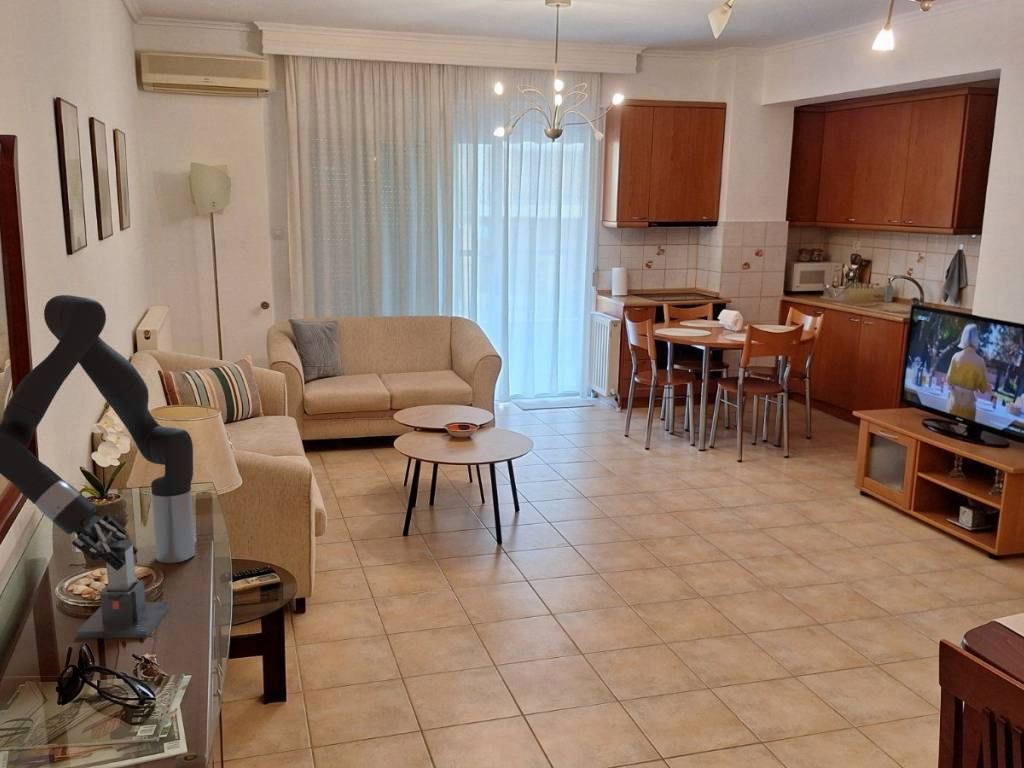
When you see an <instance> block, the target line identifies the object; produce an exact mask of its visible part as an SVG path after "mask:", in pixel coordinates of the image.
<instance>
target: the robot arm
mask: <svg viewBox="0 0 1024 768" xmlns="http://www.w3.org/2000/svg"><path fill="white" fill-rule="evenodd" d="M106 315H107V314H106V310H105V308H104V306H103V305H102V304H101V303H100V301H97V300H95V299H92V298H88V297H84V296H83V297H82V296H76V295H72V294H70V295H69V294H61V295H55V296H54V297H52V298H50V299H49V300H48V301H47V302H46V304H45V306H44V310H43V317H44V322H45V325H46V327H47V328H48V330H49V332H51V334H52V335H53V336H54V337H55V338H56V339H57V340H58V343H57V345H55V347H54V349H52V351H51V352H50V353H49V354H48V356H46V357H45V358H44V359H42V361H41V362H39V364H38V365H37V366H35V367H34V368H33V369H31V370H30V371H29V372H28V373H27V374H26V375H25V376H24V378H22V380H21V381H20V383H19V384H18V385H17V387H16V389H15V390H14V392H13V394H12V396H10V399H9V401H8V403H7V405H6V406H5V408H4V411H3V414H2V415H3V416H2V420H1V422H0V475H1V476H3V477H4V478H5V479H6V480H7V481H9V482H10V483H12V484H13V485H14V486H15V488H16V489H17V490H18V491H19V492H20V493H21V494H22V495H23V496H24V497H25V498H27V499H28V500H29V501H30V502H31V503H32V504H34V505H35V506H36V508H37V509H38V510H39V511H40V512H41V513H42V514H43V515H44V516H46V518H48V519H49V520H50V521H51V522H53V523H54V524H55V525H56V526H57V527H58V528H59V529H60V530H62V531H63V532H64V533H65V534H66V535H73V534H74V533H75V534H76V538H74V539H73V541H71V544H72V545H73V546H74V547H75V548H77V550H79V551H81V552H82V553H83V554H84V555H85V556H87V557H88V558H89V559H91V560H92V561H94V562H96V561H97V560H101V561H102V560H103V561H105V562H107V563H108V564H109V565H111V566H112V567H113V568H114V569H115V570H119V569H120V568H121V567H122V566H123V565H124V564H125V562H124V561H123V560H122V559H121V558H120V557H119V556H117V555H116V554H115V553H114V552H113V551H111V550H110V549H109V547H108V544H110V543H111V542H112V541H116V540H127V539H126V538H127V537H126V534H127V533H128V532H127V530H126V529H125V528H124V527H123V526H122V525H121V524H120V523H119V522H118V521H117V520H116V519H114V518H113V516H111V515H110V514H109V513H106V512H105V514H104V515H103V516H102V517H100V516H98V515H96V514H95V512H96V511H97V506H96V505H95V504H94V503H92V502H91V501H90V500H89V499H88V498H86V496H85V495H83V494H82V493H81V492H79V490H78V489H77V488H75V487H74V486H73V485H71V484H70V483H68V481H65V480H64V479H63V478H62V477H60V476H59V475H58V474H57V473H56V472H54V470H53V469H51V468H50V467H49V466H48V465H46V464H45V463H43V462H41V461H40V460H39V459H38V458H37V457H36V456H35V455H34V454H33V453H32V451H30V450H29V449H28V448H29V446H30V444H31V441H32V439H33V437H34V434H35V431H36V429H37V427H38V426H39V424H40V423H41V422H42V420H43V418H44V417H45V414H46V413H47V411H48V409H49V408H50V405H51V403H52V402H53V400H54V398H55V397H56V394H57V393H58V391H59V390H60V388H61V387H62V385H63V384H64V382H65V381H66V379H68V377H69V376H70V374H71V372H72V371H73V370H74V368H75V367H76V366H77V365H78V364H79V365H80V366H81V368H82V370H83V371H84V372H85V373H86V375H87V376H88V377H89V379H90V380H91V381H92V383H93V384H94V386H96V389H97V390H98V391H99V393H100V394H101V396H102V397H103V399H105V401H106V402H107V403H108V405H109V406H110V407H111V409H112V410H113V411H114V413H115V414H116V415H117V417H118V418H119V420H120V421H121V422H122V424H123V425H124V427H125V428H126V430H127V431H128V433H129V434H130V436H131V438H132V440H133V441H134V443H135V446H136V447H137V449H138V451H139V452H140V454H141V455H142V456H143V458H144V459H145V460H147V461H148V462H149V463H152V464H154V465H155V464H156V465H164V475H163V476H160V477H157V478H155V479H153V480H152V481H151V483H150V484H151V485H150V489H151V502H152V519H153V528H154V531H153V532H154V545H155V546H154V547H155V558H156V561H157V562H159V563H163V564H176V563H181V562H185V560H186V561H188V559H189V558H191V557H192V556H194V554H195V555H196V547H195V530H194V516H193V515H194V514H193V500H192V499H193V498H192V481H193V477H194V446H193V440H192V439H193V438H192V436H191V435H190V433H189V432H188V431H187V430H186V429H182V428H176V427H168V426H162V425H161V424H159V423H158V422H157V420H155V418H154V417H153V416H152V414H151V412H150V411H149V397H150V396H149V389H148V386H147V384H146V382H145V381H144V379H143V377H142V376H141V374H140V373H139V372H138V370H137V369H136V367H135V366H134V365H133V364H132V363H131V362H130V361H128V359H126V358H125V357H124V356H123V355H122V354H121V353H119V352H118V351H116V349H114V348H113V347H112V346H110V345H109V344H108V343H106V342H105V341H104V340H103V339H102V338H101V337H100V335H101V333H102V331H103V330H104V328H105V325H106V322H107V316H106ZM107 543H108V544H107ZM110 551H111V552H110ZM138 552H139V550H138V548H137V547H136V546H134V545H133V556H135V555H136V554H137V553H138ZM194 557H195V556H194ZM191 559H192V558H191ZM189 560H190V559H189Z"/></svg>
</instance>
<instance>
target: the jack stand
mask: <svg viewBox="0 0 1024 768" xmlns="http://www.w3.org/2000/svg"><path fill="white" fill-rule="evenodd" d="M135 582H136V585H135V586H134V587H133V588H132V590H131V591H130V592H109V589H108V584H107V585H106V586H105V587H104V588H102V590H100V591H99V594H100V597H99V598H100V607H98V609H96V610H95V612H94V613H93V614H92V615H91V616H90V617H89V618H88V619H87V620H86V621H85V622H84V623H83V624H82V625H81V626H80V627H79V628H78V629H77V630H76V631H75V632H76V635H75V636H76V639H77V640H78V639H146V638H148V636H149V635H150V634H151V633H152V632H153V630H154V629H155V628H156V627H157V626H158V624H159V623H160V622H161V620H162V619H163V618H164V617H165V616H166V615H167V613H168V612H169V610H171V604H170V601H152V602H151V601H146V592H145V591H146V590H145V582H144V580H143V579H135Z"/></svg>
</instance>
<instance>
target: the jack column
mask: <svg viewBox="0 0 1024 768" xmlns="http://www.w3.org/2000/svg"><path fill="white" fill-rule="evenodd" d="M107 545H108V547H109V549H110V550H111V551H113V552H114V553H115V554H116V555H117V556H119V557H120V558H121V559H122V560H123V561H124V562H125V564H124V565H123V566H122V567H121V568H120V569H119V570H115V569H114V568H113V567H112V566H111V565H109V564H108V563H107V562H106V561H105V562H106V564H105V565H106V573H107V577H106V578H107V585H108V589H109V592H130V591H131V590H132V588H133V587H134V586H135V585H136V582H135V580H136V572H135V559H134V556H135V555H134V556H133V546H134V545H133V540H132V539H130V540H128V539H126V540H116V541H112V542H111V543H110V542H109V543H108V544H107ZM111 551H110V552H111Z"/></svg>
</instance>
